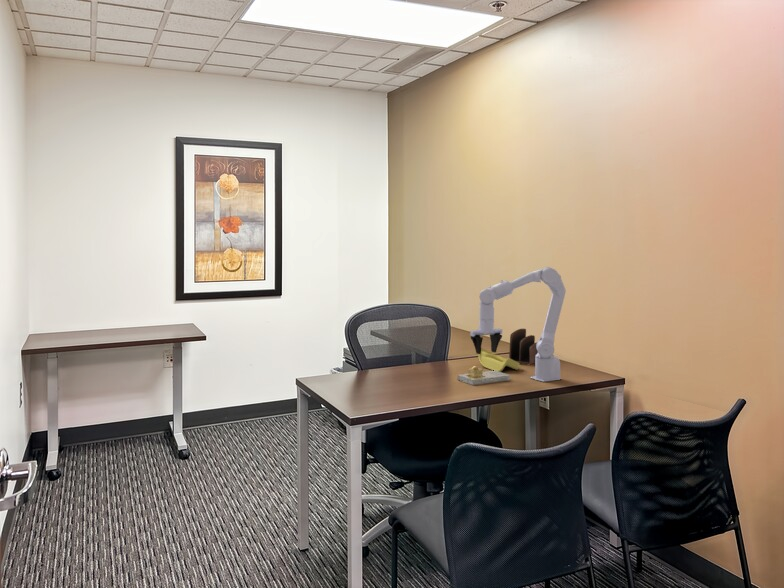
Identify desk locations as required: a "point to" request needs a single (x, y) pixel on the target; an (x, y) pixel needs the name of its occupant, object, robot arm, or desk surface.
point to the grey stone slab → (485, 378)
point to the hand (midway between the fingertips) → (486, 352)
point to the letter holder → (522, 347)
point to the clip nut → (475, 372)
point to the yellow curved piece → (496, 361)
